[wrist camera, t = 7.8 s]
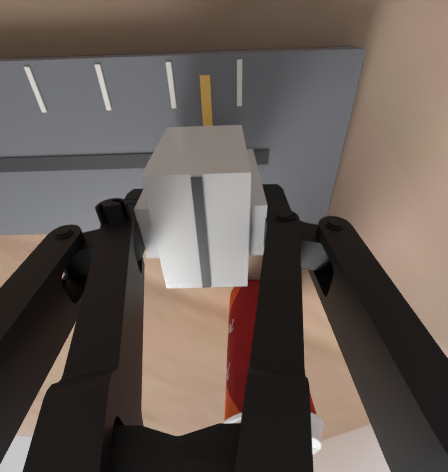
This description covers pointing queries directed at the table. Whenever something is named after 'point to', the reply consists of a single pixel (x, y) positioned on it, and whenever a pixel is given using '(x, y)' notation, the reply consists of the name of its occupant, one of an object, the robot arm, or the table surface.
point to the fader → (200, 205)
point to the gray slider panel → (165, 124)
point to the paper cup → (239, 357)
